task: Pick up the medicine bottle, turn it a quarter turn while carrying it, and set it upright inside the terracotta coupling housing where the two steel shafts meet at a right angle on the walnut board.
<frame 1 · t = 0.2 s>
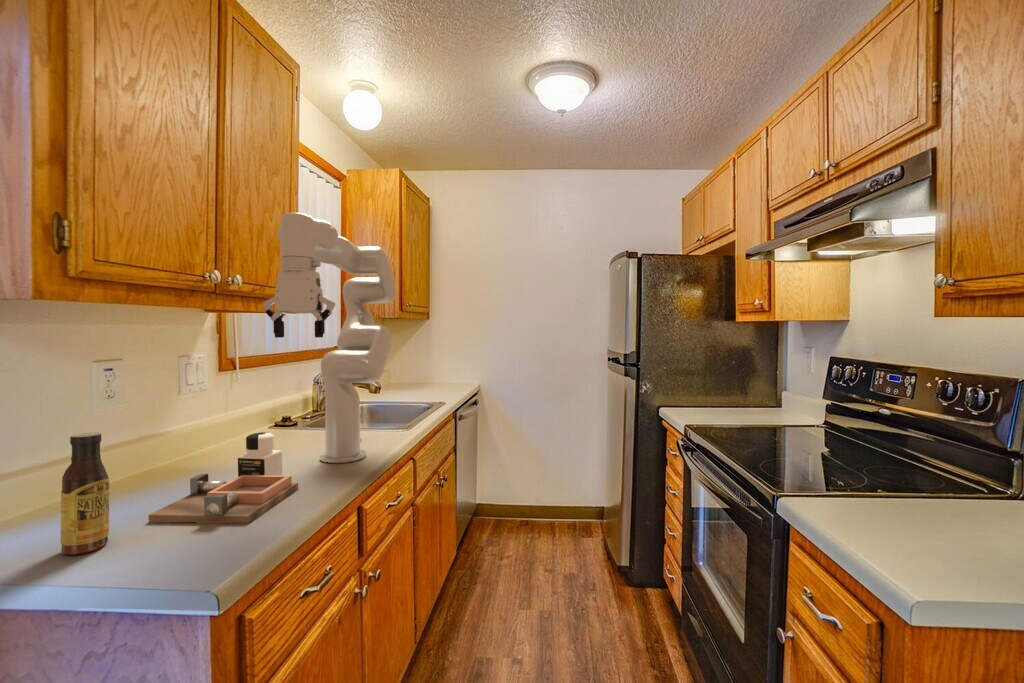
hand: (299, 337, 115), 36 cm above the worktop, tool pointing down, fingers open, 9 cm apart
sauce bottle: (86, 549, 83), on the worktop
coupling housing: (252, 499, 106), on the worktop
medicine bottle: (260, 482, 118), on the worktop
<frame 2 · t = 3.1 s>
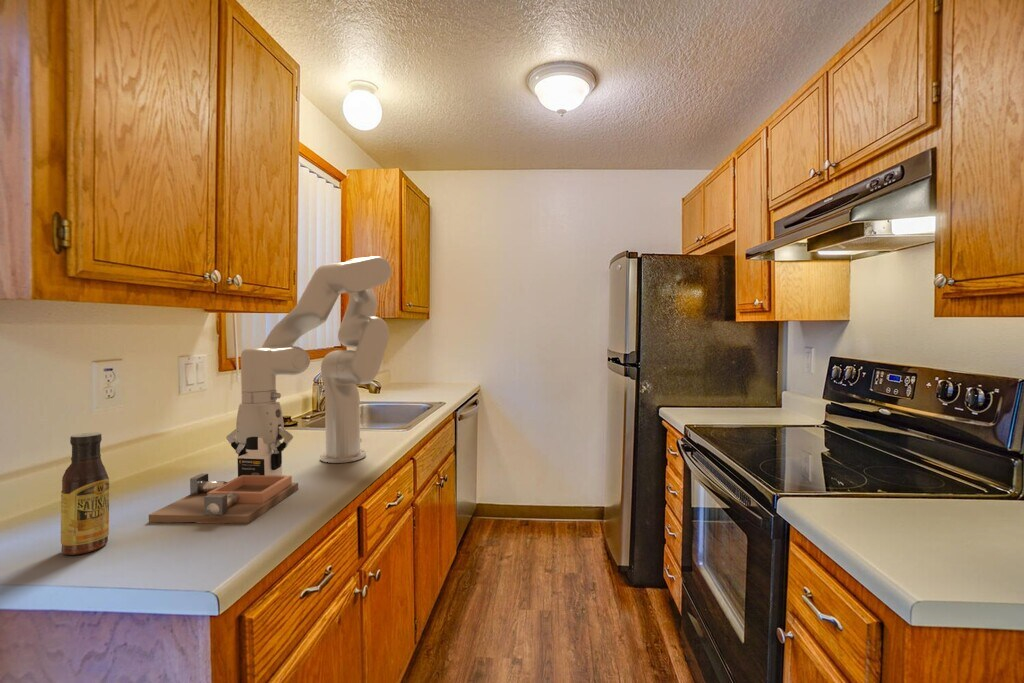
hand: (260, 467, 118), 3 cm above the worktop, tool pointing down, fingers closed on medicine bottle, 7 cm apart
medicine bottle: (260, 482, 118), on the worktop, touching gripper
everything else where it was.
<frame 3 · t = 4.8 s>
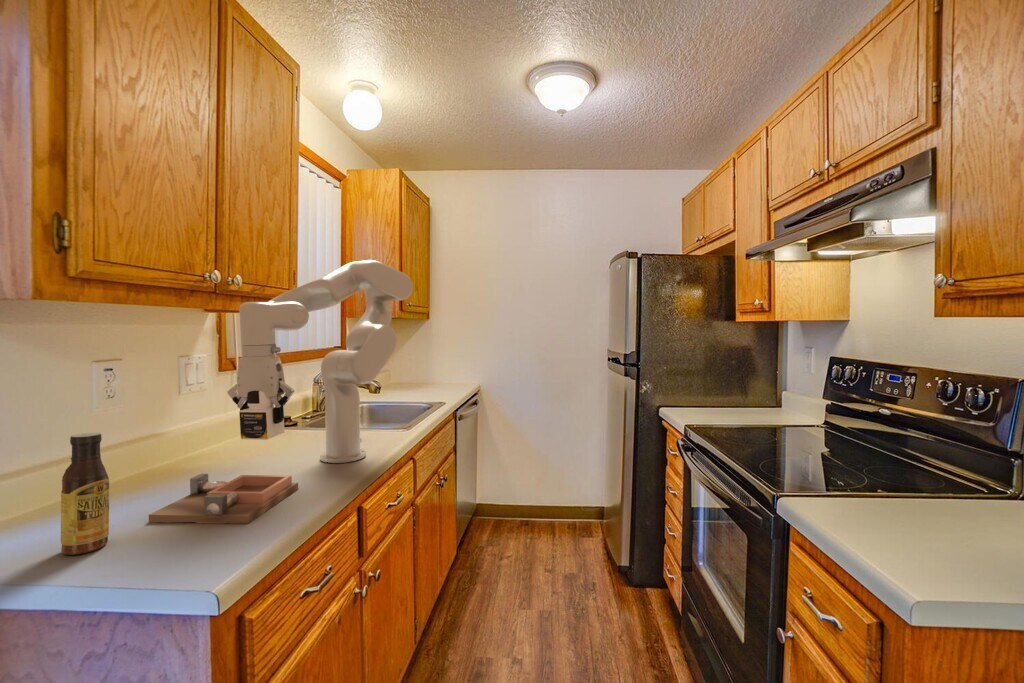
hand: (262, 422, 118), 15 cm above the worktop, tool pointing down, fingers closed on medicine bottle, 7 cm apart
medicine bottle: (263, 436, 119), point 11 cm above the worktop, touching gripper
everything else where it was.
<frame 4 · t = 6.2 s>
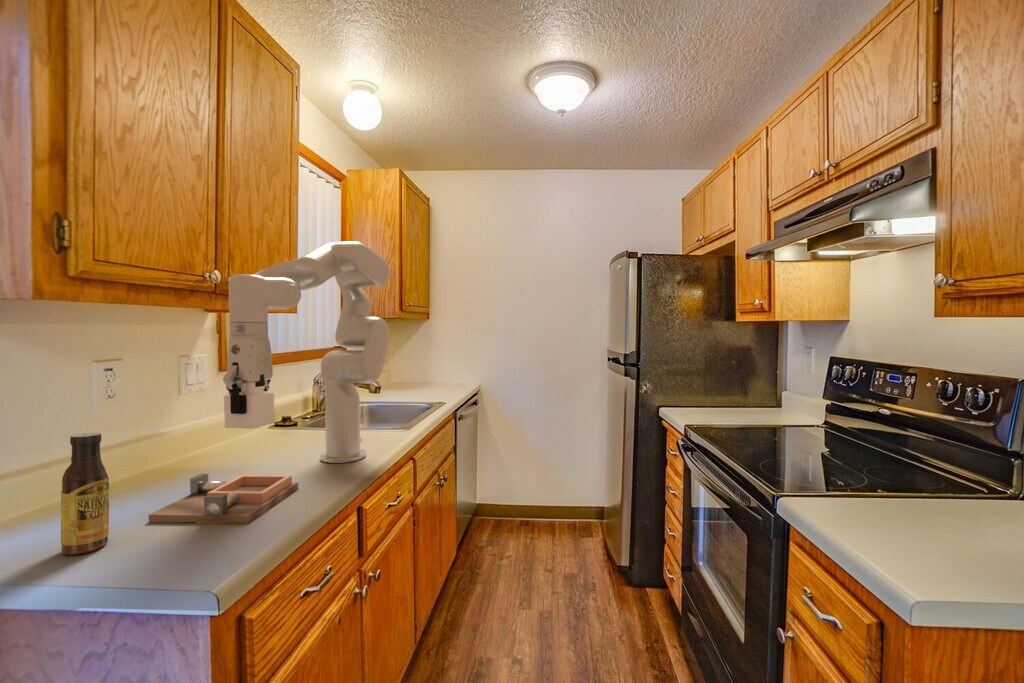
hand: (250, 409, 106), 20 cm above the worktop, tool pointing down, fingers closed on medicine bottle, 7 cm apart
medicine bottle: (250, 426, 106), point 16 cm above the worktop, touching gripper
everything else where it was.
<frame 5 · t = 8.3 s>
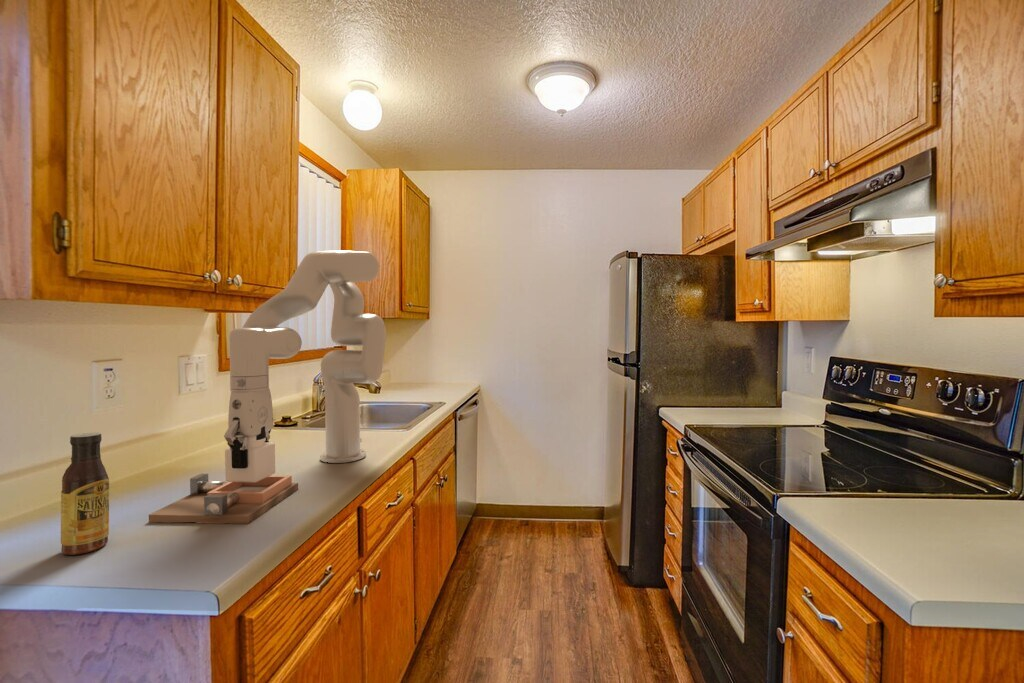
hand: (251, 462, 106), 8 cm above the worktop, tool pointing down, fingers closed on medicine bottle, 7 cm apart
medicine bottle: (251, 478, 106), point 5 cm above the worktop, touching gripper
everything else where it was.
when the fingers open (7 cm above the worktop, at t = 9.6 s): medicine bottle drops 2 cm, resting on coupling housing.
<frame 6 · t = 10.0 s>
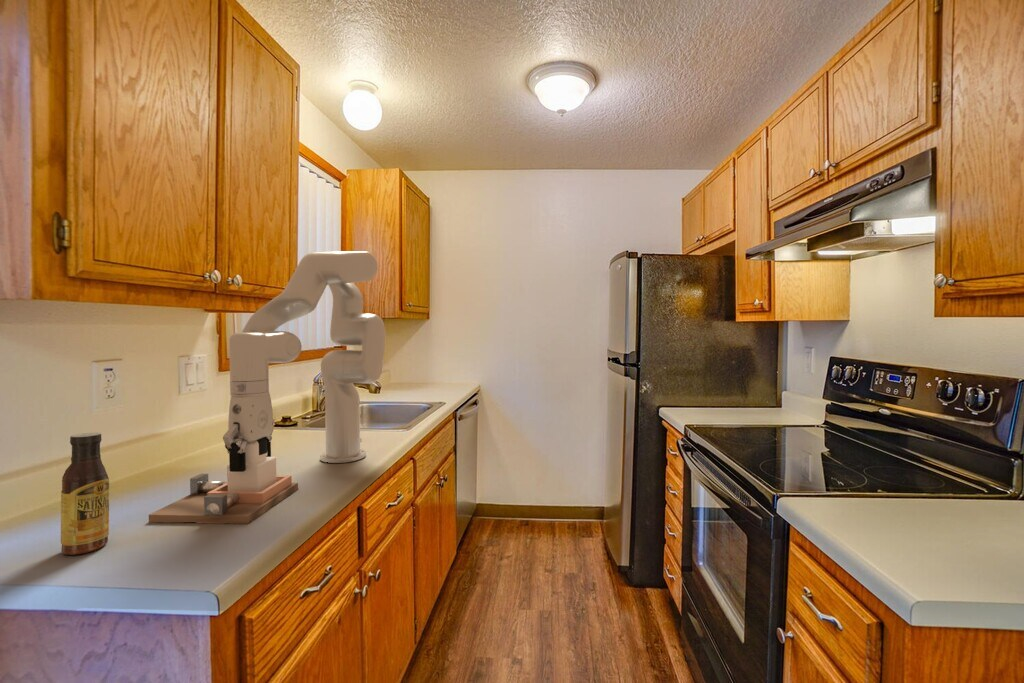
hand: (251, 464, 106), 8 cm above the worktop, tool pointing down, fingers open, 9 cm apart
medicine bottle: (252, 493, 106), point 1 cm above the worktop, touching coupling housing
everything else where it was.
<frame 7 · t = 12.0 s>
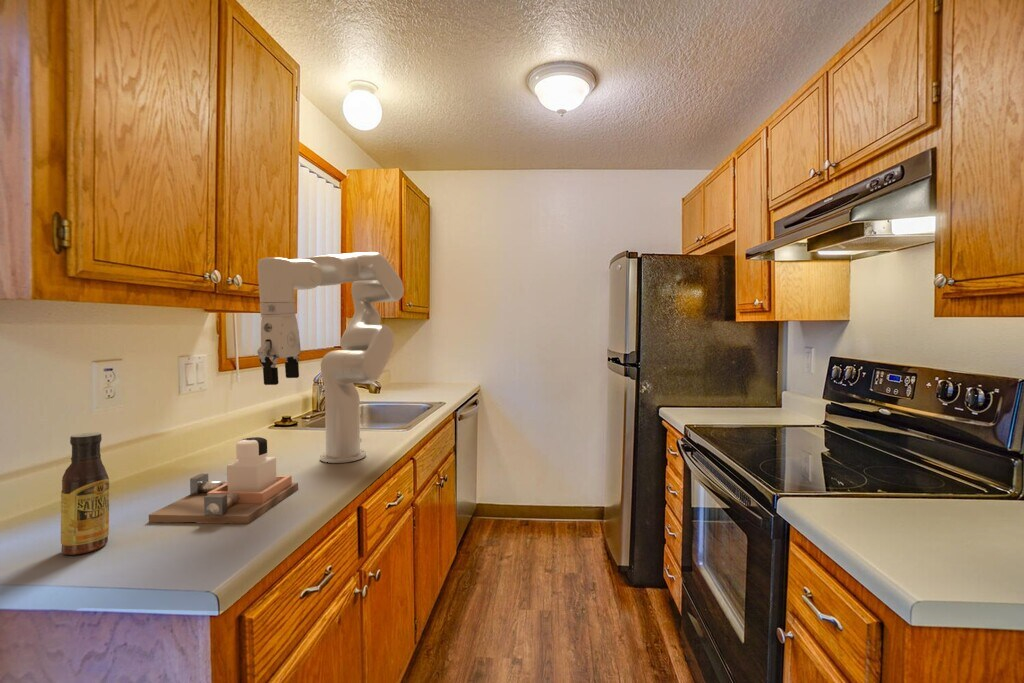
hand: (282, 381, 115), 25 cm above the worktop, tool pointing down, fingers open, 9 cm apart
nothing on the worktop moved.
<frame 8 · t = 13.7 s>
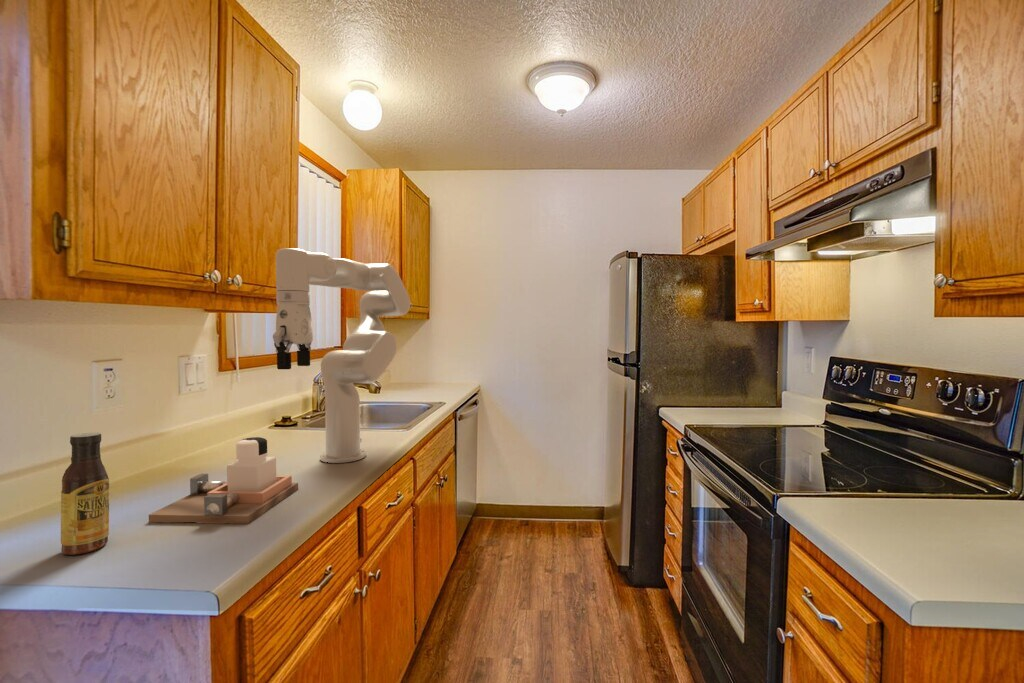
hand: (294, 367, 119), 28 cm above the worktop, tool pointing down, fingers open, 9 cm apart
nothing on the worktop moved.
at the end: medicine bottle 0.3 cm from the coupling housing (horizontally); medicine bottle tilted 0°; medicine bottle point 1.3 cm above the worktop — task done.
